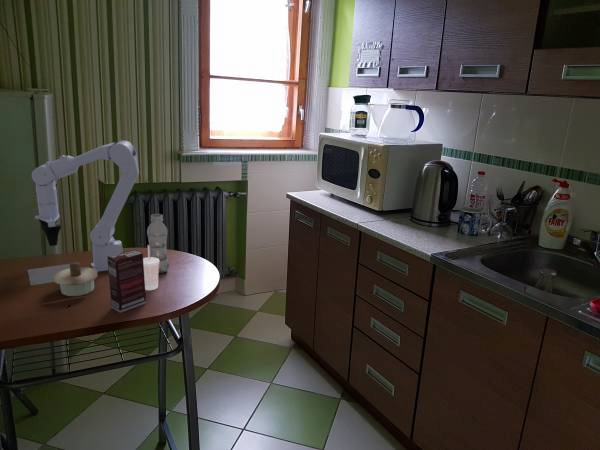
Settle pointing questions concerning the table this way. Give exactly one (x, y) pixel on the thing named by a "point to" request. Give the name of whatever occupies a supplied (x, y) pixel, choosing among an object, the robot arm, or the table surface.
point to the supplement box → (126, 280)
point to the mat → (45, 274)
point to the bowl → (77, 289)
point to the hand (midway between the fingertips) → (52, 241)
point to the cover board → (75, 280)
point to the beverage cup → (151, 271)
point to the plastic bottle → (158, 241)
